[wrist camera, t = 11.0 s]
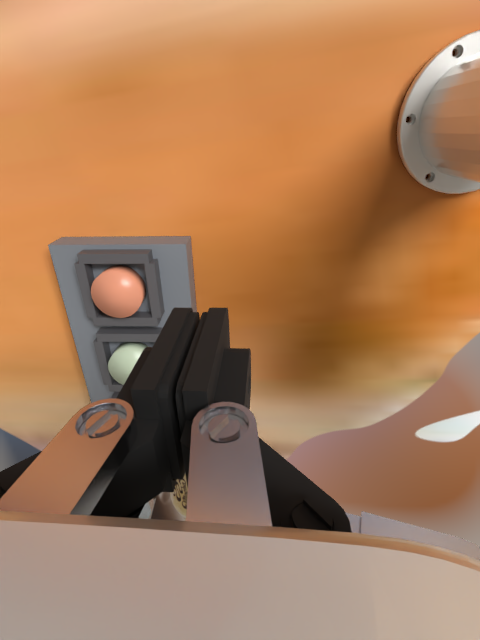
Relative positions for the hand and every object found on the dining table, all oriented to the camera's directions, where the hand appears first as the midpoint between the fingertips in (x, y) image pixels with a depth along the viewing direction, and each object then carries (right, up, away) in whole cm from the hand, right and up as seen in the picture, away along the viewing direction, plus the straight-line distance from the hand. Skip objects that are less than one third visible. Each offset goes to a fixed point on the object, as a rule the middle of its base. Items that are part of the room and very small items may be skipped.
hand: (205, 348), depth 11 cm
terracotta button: (-11, +4, +26) cm, 29 cm away
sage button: (-11, -4, +30) cm, 32 cm away
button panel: (-11, -2, +33) cm, 35 cm away
